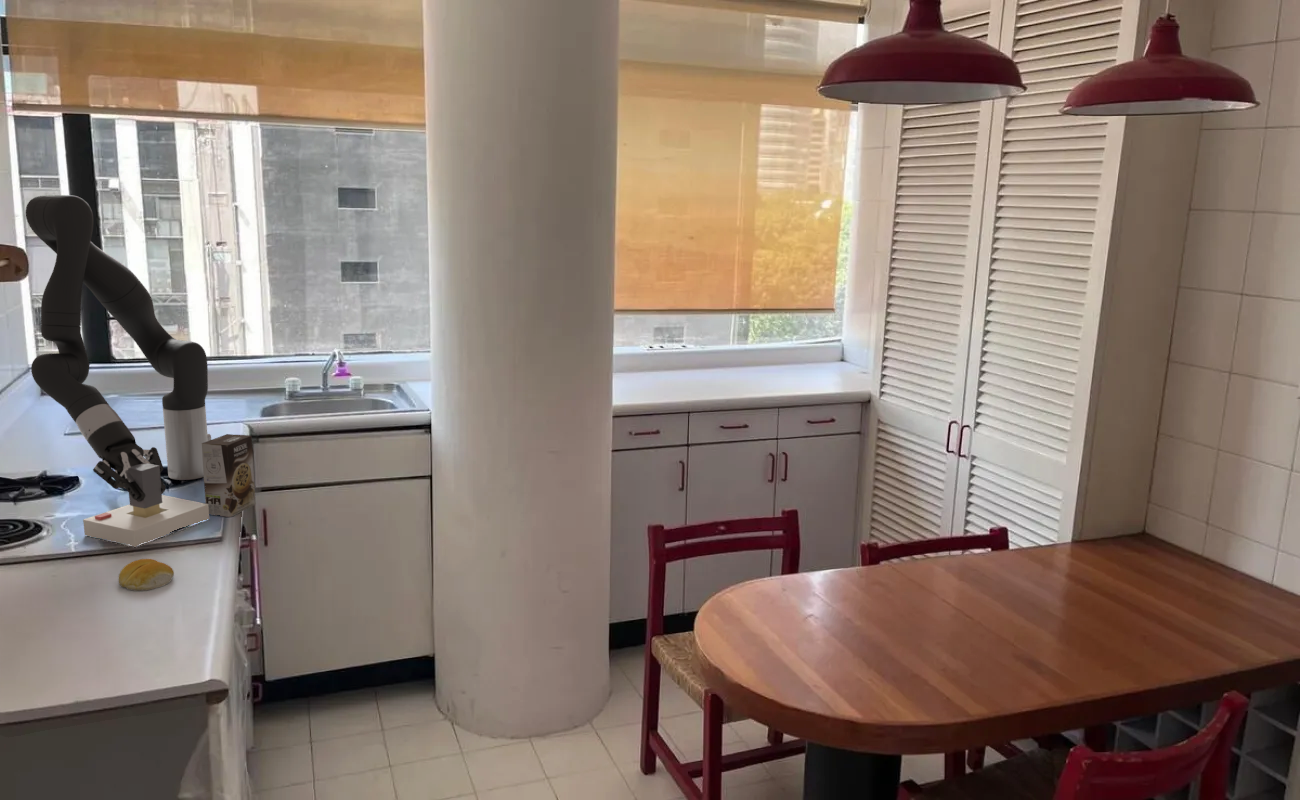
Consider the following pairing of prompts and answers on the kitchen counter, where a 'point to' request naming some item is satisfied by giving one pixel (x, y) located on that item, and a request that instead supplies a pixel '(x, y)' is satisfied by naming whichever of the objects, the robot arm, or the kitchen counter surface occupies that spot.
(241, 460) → the coffee box
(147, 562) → the bread roll
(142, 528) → the socket plate
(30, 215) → the robot arm
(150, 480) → the plug
